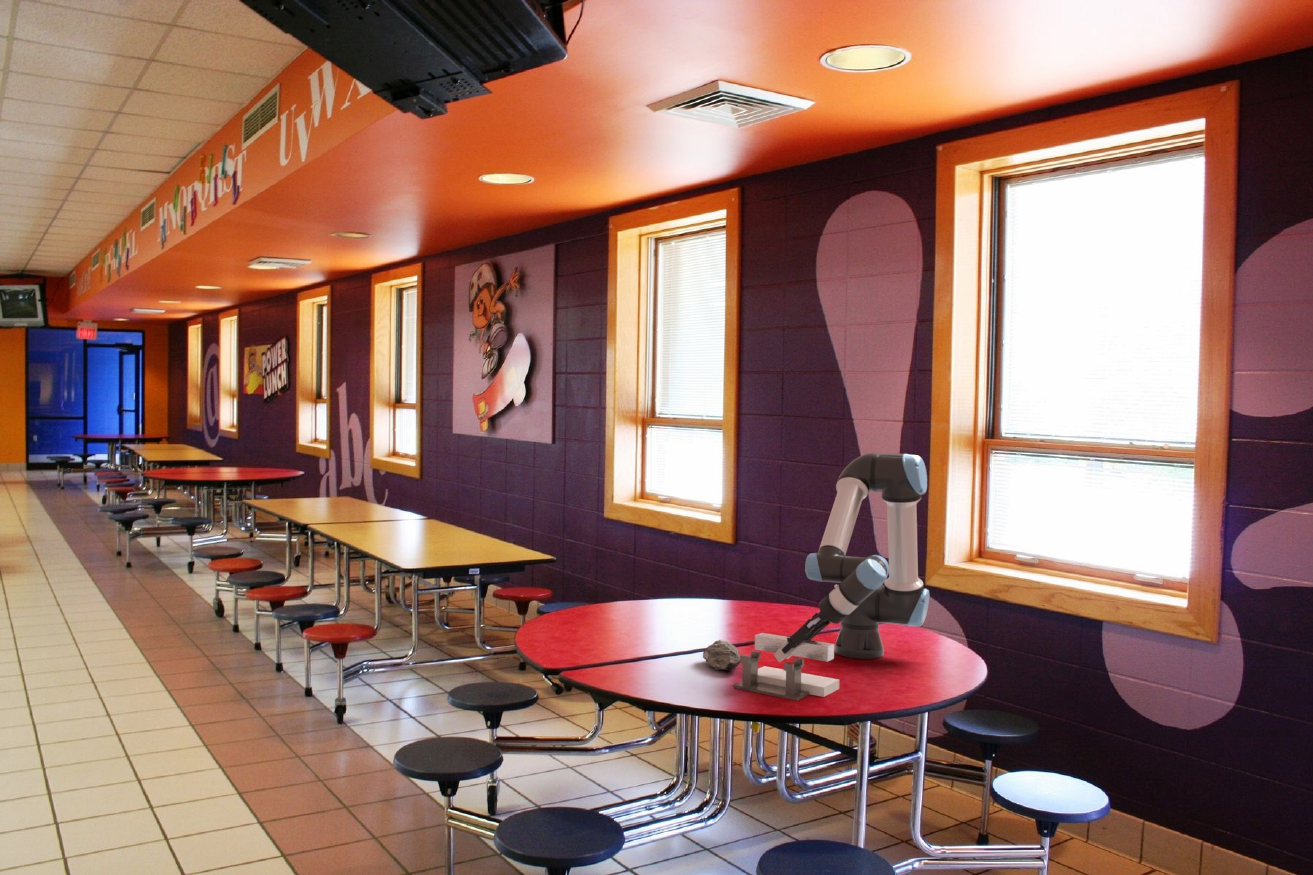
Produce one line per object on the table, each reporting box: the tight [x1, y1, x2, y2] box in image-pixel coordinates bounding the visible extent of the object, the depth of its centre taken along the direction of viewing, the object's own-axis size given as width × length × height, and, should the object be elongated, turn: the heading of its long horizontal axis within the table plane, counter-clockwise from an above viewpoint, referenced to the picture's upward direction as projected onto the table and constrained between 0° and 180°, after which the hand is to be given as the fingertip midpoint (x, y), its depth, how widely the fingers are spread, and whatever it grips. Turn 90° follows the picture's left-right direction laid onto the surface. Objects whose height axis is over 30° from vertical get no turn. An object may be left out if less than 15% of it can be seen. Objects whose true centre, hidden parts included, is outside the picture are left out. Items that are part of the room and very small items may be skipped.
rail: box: [754, 632, 835, 663], centre depth 265 cm, size 4×22×4 cm, turn 56°
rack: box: [733, 650, 810, 702], centre depth 259 cm, size 7×19×9 cm, turn 56°
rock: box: [702, 639, 741, 672], centre depth 283 cm, size 18×10×10 cm
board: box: [757, 665, 840, 698], centre depth 265 cm, size 10×23×2 cm, turn 56°
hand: (781, 656), depth 267 cm, fingers closed on rail, 4 cm apart
